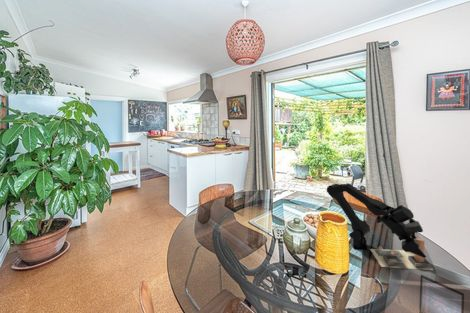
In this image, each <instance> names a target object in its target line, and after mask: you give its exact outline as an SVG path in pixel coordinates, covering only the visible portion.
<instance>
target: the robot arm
mask: <svg viewBox="0 0 470 313" xmlns="http://www.w3.org/2000/svg"><path fill="white" fill-rule="evenodd" d="M326 193H327V195H329V196H330V197H331V198H332V199H334V200H335V201H336V202H337V204H338V205H339V206H340V208H341V210H342V211H343V213H344V214H345V216H346V218H347V219H348V221H349V222H350V225H351V229H352V232H350V233H348V234H349V238H351V242H350V244H351V246H352V248H353V249H354V250H358V251H359V250H360V251H362V250H363V251H364V250H365V251H366V250H367V246H368V245H367V244H368V243H367V239H366V236H368V235H369V234H370V233H371V228H370V225H369V224H368V223H367V221H366V220H362V219H361V218H359V216H358V215H357V213H356V212H355V211H354V209H353V207H352V206H351V205H350V203H349V202H348V200H347V199H346V197H345V195H344V193H346V194H348V195H349V196H352V197H353V198H354V199H356V200H357V201H358V202H360V203H361V204H363V205H364V206H365V207H366V209H367V210H368V211H369V212H371V214H373V215H374V216H377V217H376V223H377V224H379V223H382V224H383V225H384V226H386V227H387V228H388V229H389V230H390V232H391V234H394V235H396V236H397V238H398V240H399V241H402V242H401V243H400V247H401V250H404V251H405V252H411V253H414V254H416V255H419V256H421V257H423V258H425V259H426V258H427V255H426V254H425V252H424V253H423V252H422V251H421V249H420V248H419V244H418V242H417V241H416V240H415V239H418V238H417V236H416V234H417V233H423V232H424V230H423V227H422V225H421V224H420V222H419V221H418V220H415V219H414V218H415V216H414V213H413V212H412V210H411V209H409V208H408V207H406V206H404V205H403V204H400V205H398V206H396V207H393V206H390V205H388V204H386V203H385V202H384V201H381V200H379V199H376V198H374V197H373V198H372V197H370V196H369V195H367V194H366V193H364V192H362V191H361V190H360V189H358V188H356V187H355V186H353V185H352V184H351V183H349V182H348V183H347V182H346V183H333V184H330V185H328V186H327V188H326ZM407 221H408V222H407ZM405 222H407V223H405Z"/></svg>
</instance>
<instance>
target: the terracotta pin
mask: <svg viewBox="0 0 470 313" xmlns="http://www.w3.org/2000/svg"><path fill="white" fill-rule="evenodd" d="M415 240H416V241H417V242H418V244H419V248H420V249H421V251H422V252H423V253H424V254H425V244H426V243H425V240H424V239H422V238H417V239H415ZM415 262H416V263H423V264H424V258H423V257H421V256H419V255H416V254H415Z"/></svg>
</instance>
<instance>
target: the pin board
mask: <svg viewBox="0 0 470 313" xmlns="http://www.w3.org/2000/svg"><path fill="white" fill-rule="evenodd" d="M369 250H370V251H371V253H372V254H373V256H374V257H375V258H374V259H376V261H377V262H378V264H379V265H380V267H382V268H383V267H384V268H393V269H394V268H395V269H409V270H425V271H434V268H433V267H432V266H433V265H432V264H431V262H429V261H428V260H427V258H426V257H425V258H424V264H423V263H416V262H415V254H414V253H411V252H405V251H404V250H403V249H401V250H400V249H379V248H369Z"/></svg>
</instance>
